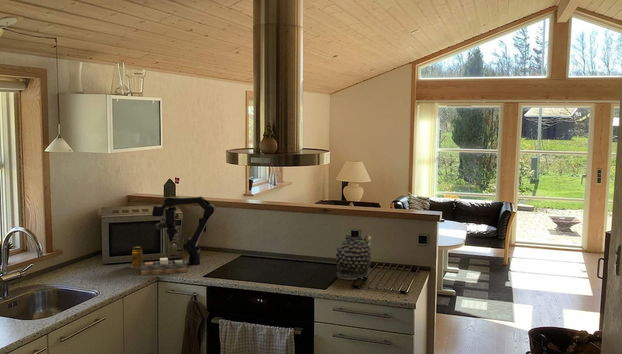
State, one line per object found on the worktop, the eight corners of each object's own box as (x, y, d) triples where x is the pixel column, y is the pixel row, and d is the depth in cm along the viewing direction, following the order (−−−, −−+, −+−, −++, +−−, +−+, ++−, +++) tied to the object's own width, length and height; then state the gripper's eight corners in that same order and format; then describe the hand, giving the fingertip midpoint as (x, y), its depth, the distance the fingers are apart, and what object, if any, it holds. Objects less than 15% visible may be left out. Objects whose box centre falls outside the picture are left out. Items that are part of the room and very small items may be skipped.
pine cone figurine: (364, 272, 344) (365, 231, 341) (374, 279, 330) (375, 236, 327) (331, 275, 338) (331, 232, 335) (340, 282, 323) (341, 238, 321)
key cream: (167, 262, 346) (167, 257, 345) (168, 264, 342) (168, 259, 341) (159, 263, 344) (159, 258, 344) (160, 265, 340) (160, 260, 340)
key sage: (182, 265, 349) (182, 260, 348) (182, 266, 344) (182, 261, 344) (174, 265, 347) (174, 260, 347) (175, 267, 343) (175, 262, 343)
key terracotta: (152, 266, 343) (152, 261, 343) (153, 268, 339) (153, 263, 339) (145, 267, 342) (144, 262, 342) (145, 269, 338) (145, 264, 338)
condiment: (129, 267, 350) (128, 247, 348) (138, 264, 358) (137, 244, 356) (139, 268, 347) (139, 248, 346) (148, 265, 355) (147, 245, 354)
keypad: (185, 266, 354) (185, 258, 354) (187, 272, 341) (187, 264, 340) (140, 269, 346) (140, 261, 346) (141, 275, 333) (141, 267, 332)
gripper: (155, 215, 364) (155, 239, 366) (158, 220, 346) (158, 246, 348) (173, 214, 368) (173, 238, 369) (177, 219, 350) (177, 245, 352)
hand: (170, 242), depth 360 cm, fingers closed
